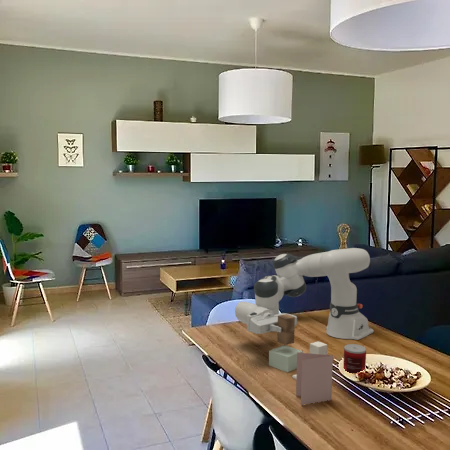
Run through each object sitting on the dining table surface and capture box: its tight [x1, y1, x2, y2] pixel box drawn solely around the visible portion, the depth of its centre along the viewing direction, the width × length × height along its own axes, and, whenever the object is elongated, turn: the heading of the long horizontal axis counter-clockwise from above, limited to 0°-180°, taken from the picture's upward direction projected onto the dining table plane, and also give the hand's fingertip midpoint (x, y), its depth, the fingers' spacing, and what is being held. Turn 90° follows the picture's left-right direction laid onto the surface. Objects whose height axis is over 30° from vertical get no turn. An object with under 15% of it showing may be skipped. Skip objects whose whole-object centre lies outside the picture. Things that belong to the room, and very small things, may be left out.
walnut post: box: [276, 313, 296, 346], centre depth 189 cm, size 4×4×10 cm
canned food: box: [343, 343, 367, 373], centre depth 180 cm, size 8×8×11 cm
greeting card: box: [295, 352, 334, 406], centre depth 161 cm, size 11×7×15 cm, turn 77°
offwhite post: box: [309, 341, 328, 355], centre depth 186 cm, size 4×4×10 cm
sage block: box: [268, 344, 304, 373], centre depth 191 cm, size 9×9×6 cm
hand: (287, 328), depth 189 cm, fingers closed on walnut post, 4 cm apart
